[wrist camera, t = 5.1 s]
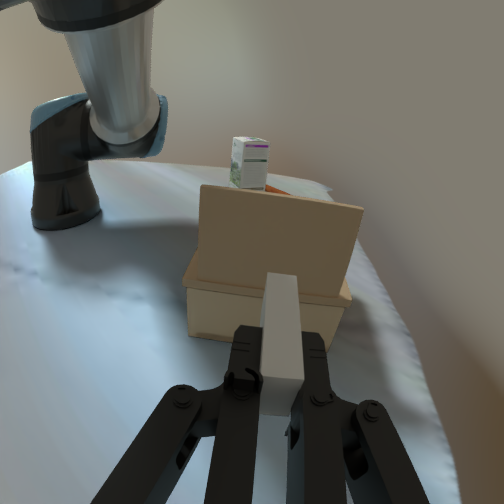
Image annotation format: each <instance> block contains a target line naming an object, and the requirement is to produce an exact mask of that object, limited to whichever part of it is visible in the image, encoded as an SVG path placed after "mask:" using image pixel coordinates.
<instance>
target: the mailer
mask: <svg viewBox="0 0 504 504" xmlns="http://www.w3.org/2000/svg"><path fill="white" fill-rule="evenodd" d="M262 303H263V298H261V297H253V296H246V295H238V294H231V293H224V292H217V291H210V290H204V289H197V288H191V287H187V317H188V336H193V337H199V338H205V339H211V340H217V341H224V342H230V343H233V337H234V332H235V331H236V329H237V328H238V327H239V326H240V325H247V326H255V327H260V318H261V309H262ZM344 309H345V307H340V306H330V305H321V304H311V303H302V302H299V310H300V323H301V331H306V332H317V333H319V334H320V335H321V337H322V338H323V340H324V343H325V350H326V351H325V352H326V353H327V352H328V350H329V347H330V345H331V343H332V340H333V338H334V335H335V333H336V330H337V328H338V325H339V322H340V320H341V317H342V315H343V312H344Z"/></svg>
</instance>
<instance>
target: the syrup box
mask: <svg viewBox="0 0 504 504" xmlns="http://www.w3.org/2000/svg"><path fill="white" fill-rule="evenodd" d="M269 150H270V142H267V141H264V140H262V139H259V138H255V137H234V138H233V147H232V160H231V172H230V184H229V187H231V188H239V189H248V190H256V191H263V192H265V186H266V177H267V169H268V168H267V167H268V159H269Z"/></svg>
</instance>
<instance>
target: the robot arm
mask: <svg viewBox="0 0 504 504" xmlns="http://www.w3.org/2000/svg"><path fill="white" fill-rule="evenodd" d="M27 1H29V2H31V3H32V4H33V6H34V9H35V11H36V13H37V16H38V19H39V21H40V22H41V24H42V25H43V26H44V27H46V28H47V29H49V30H50V31H53V32H57V33H62V34H64V36H65V38H66V41H67V44H68V47H69V49H70V52H71V55H72V57H73V60H74V63H75V65H76V68H77V70H78V73H79V75H80V78H81V80H82V83H83V85H84V87H85V90H86V92H87V93H79V94H74V95H70V96H65V97H61V98H58V99H55V100H51V101H49V102H46V103H44V104H41V105H39V106H37V107H36V108H35V109H34V110H33V112H32V115H31V127H30V135H31V152H32V165H33V174H34V191H33V206H32V208H31V218H32V223H33V225H34V226H35V227H36V228H39V229H43V230H58V229H64V228H69V227H73V226H76V225H79V224H81V223H84V222H86V221H88V220H90V219H92V218H93V217H94V216H96V215H97V214H98V212H99V210H100V205H99V197H98V195H97V194H96V191H95V188H94V185H93V183H92V180H91V178H90V175H89V169H88V161H91V160H101V159H116V158H135V157H139V158H146V157H150V156H156V155H158V154H159V153H160V152H161V150H162V148H163V144H164V140H165V139H164V138H165V133H166V127H167V117H168V103H167V99H166V97H165V96H162V95H158V94H156V93H155V92H154V90H153V89H152V88H151V87H150V72H151V44H152V43H151V42H152V27H153V14H154V8H155V7H157V6H158V5H159V4H161V3H162V2H163V1H164V0H0V11H1V10H3V9H6V8H9V7H12V6H15V5H18V4H21V3H24V2H27ZM89 99H90V100H89ZM325 351H326V350H325V343H324V340H323V338H322V337H321V335H320V334H319V333H317V332H306V331H301V323H300V310H299V298H298V287H297V276H294V275H286V274H278V273H271V272H268V273H267V279H266V285H265V291H264V297H263V303H262V309H261V318H260V327H255V326H247V325H240V326H239V327H238V328H237V329H236V331H235V332H234V337H233V343H232V348H231V354H230V360H229V365H228V370H227V372H226V374H225V376H224V382H223V383H222V384H221V385H220V386H219V387H216V388H214V389H210V390H202V391H198V390H197V389H195V388H194V387H192V386H189V385H185V384H183V385H176V386H173V387H171V388H170V389H169V390H168V391H167V392H166V393H165V395H164V396H163V398H162V399H161V401H160V402H159V404H158V405H157V406H156V408H155V409H154V411H153V412H152V414H151V415H150V417H149V418H148V420H147V421H146V423H145V424H144V426H143V427H142V429H141V430H140V432H139V433H138V435H137V436H136V437H135V439H134V440H133V442H132V443H131V445H130V446H129V448H128V449H127V451H126V452H125V454H124V455H123V457H122V458H121V460H120V461H119V462H118V464H117V465H116V467H115V468H114V470H113V471H112V473H111V474H110V476H109V477H108V479H107V480H106V481H105V483H104V484H103V486H102V487H101V489H100V490H99V492H98V493H97V495H96V496H95V497H94V499H93V500H92V502H91V503H90V504H165V503H166V501H167V500H168V498H169V496H170V494H171V493H172V491H173V489H174V487H175V485H176V484H177V482H178V480H179V478H180V476H181V475H182V473H183V471H184V469H185V467H186V465H187V464H188V462H189V460H190V458H191V456H192V454H193V453H194V451H195V449H196V447H197V445H198V443H199V441H200V439H201V437H208V436H215V441H214V446H213V452H212V458H211V464H210V470H209V476H208V482H207V487H206V493H205V499H204V504H252V494H253V483H254V471H255V459H256V447H257V434H258V421H259V414H263V415H275V416H289V414H290V412H291V421H290V423H289V425H288V427H287V429H286V431H285V435H284V436H287V435H288V460H287V492H286V504H347V498H346V482H347V485H348V488H349V491H350V493H351V496H352V499H353V502H354V504H430V503H429V501H428V498H427V496H426V494H425V491H424V489H423V487H422V485H421V482H420V480H419V478H418V476H417V473H416V471H415V469H414V467H413V465H412V462H411V460H410V458H409V456H408V454H407V452H406V450H405V448H404V445H403V443H402V441H401V439H400V437H399V435H398V433H397V431H396V429H395V427H394V425H393V423H392V421H391V419H390V417H389V415H388V413H387V411H386V409H385V408H384V406H383V405H382V404H381V403H379V402H378V401H374V400H365V401H363V402H360V404H359V405H358V404H354V403H351V402H347V401H345V400H342V399H340V398H339V397H337V396H336V394H335V393H334V392H333V390H332V389H331V386H330V379H329V371H328V364H327V359H326V358H327V357H326V352H325ZM345 479H346V482H345Z"/></svg>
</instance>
